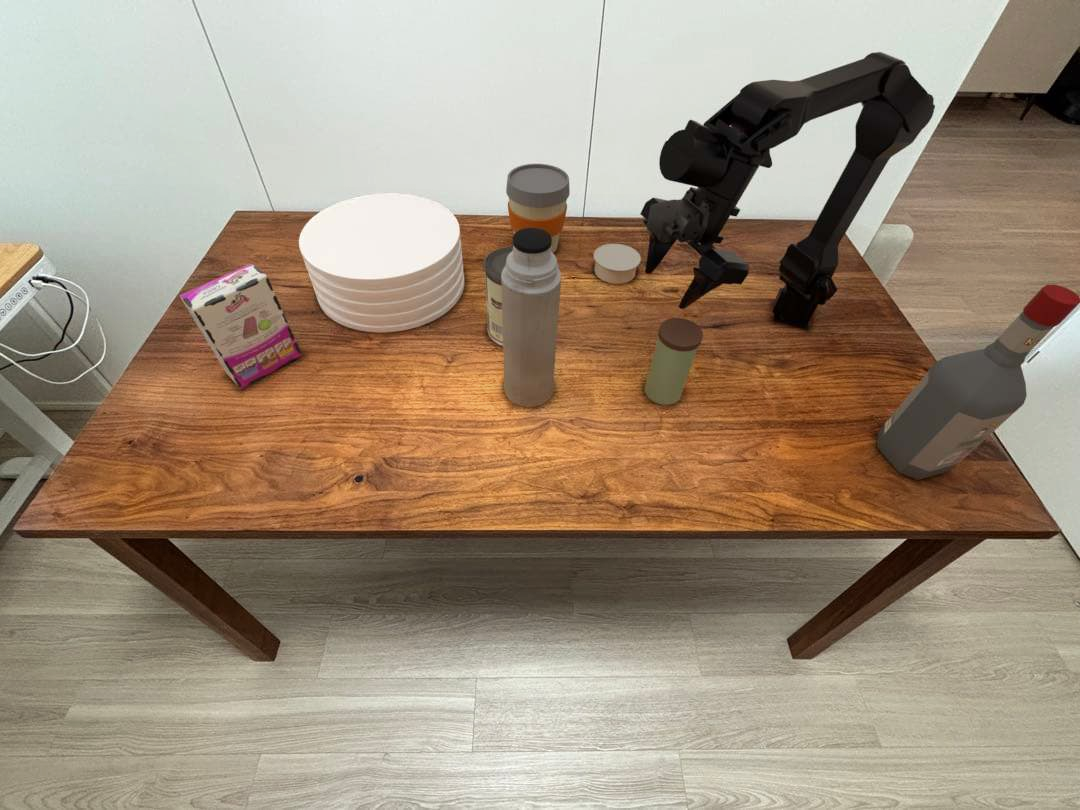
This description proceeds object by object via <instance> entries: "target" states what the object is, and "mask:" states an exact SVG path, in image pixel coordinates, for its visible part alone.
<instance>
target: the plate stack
mask: <svg viewBox="0 0 1080 810" xmlns="http://www.w3.org/2000/svg"><path fill="white" fill-rule="evenodd" d="M298 247H299V248H298V249H299V251H300V254H301V256H302V258H303V261H304V266H305V267H306V270H307V273H308V276H309V279H310V282H311V284H312V288H313V290H314V294H315V297H316V299H317V303H318V304H319V307H320V308H321V310H322V311H323V313H324V314H325V315H326V316H327V317H328V318H329V319H330V320H332V321H334V322H335V323H337V324H339V325H341V326H344V327H346V328H349V329H352V330H356V331H361V332H367V333H395V332H402V331H408V330H412V329H414V328H419V327H422V326H425V325H427V324H429V323H431V322H433V321H435V320H437V319H439V318H441V317H442V316H444V315H445V314H447V313H448V312H450V310H451V309H452V308H453V307H454V306H455V305H456V304H457V303H458V301H459V300H460V299H461V296H462V295H463V292H464V289H465V273H464V262H463V250H462V240H461V229H460V224H459V221H458V218H457V217H456V216H455V215H454V213H453V212H452V211H451V210H449V208H447V207H445V206H444V205H442V204H441V203H439V202H436V201H434V200H432V199H429V198H427V197H423V196H418V195H414V194H407V193H395V192H394V193H393V192H392V193H391V192H389V193H387V192H386V193H385V192H384V193H374V194H373V193H372V194H366V195H361V196H356V197H351V198H348V199H345V200H342V201H338V202H337V203H334V204H332V205H329V206H328V207H326V208H324V209H323V210H321V211H319V212H318V213H316V214H315V215H314V216H312V217H311V218H310V219H309V220H308V221H307V223H305V224H304V226H303V228H302V229H301V231H300V234H299V237H298Z"/></svg>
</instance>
